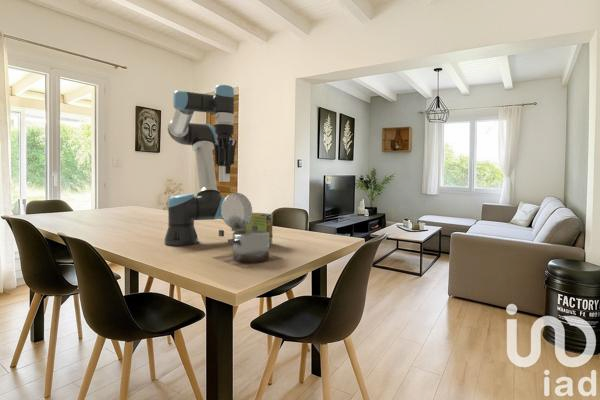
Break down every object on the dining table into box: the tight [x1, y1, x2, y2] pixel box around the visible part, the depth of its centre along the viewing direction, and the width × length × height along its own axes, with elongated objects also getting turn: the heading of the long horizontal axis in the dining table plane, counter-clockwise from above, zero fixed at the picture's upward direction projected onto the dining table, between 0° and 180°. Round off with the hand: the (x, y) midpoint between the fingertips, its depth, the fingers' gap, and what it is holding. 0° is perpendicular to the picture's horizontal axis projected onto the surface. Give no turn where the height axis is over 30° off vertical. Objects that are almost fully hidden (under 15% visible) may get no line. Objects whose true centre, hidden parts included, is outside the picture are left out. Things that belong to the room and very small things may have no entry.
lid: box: [221, 192, 253, 232], centre depth 134 cm, size 15×14×4 cm
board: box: [211, 252, 284, 269], centre depth 130 cm, size 20×20×1 cm
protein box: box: [233, 212, 274, 246], centre depth 153 cm, size 10×15×16 cm
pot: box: [218, 226, 273, 264], centre depth 129 cm, size 16×19×11 cm
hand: (224, 181), depth 138 cm, fingers open, 3 cm apart
